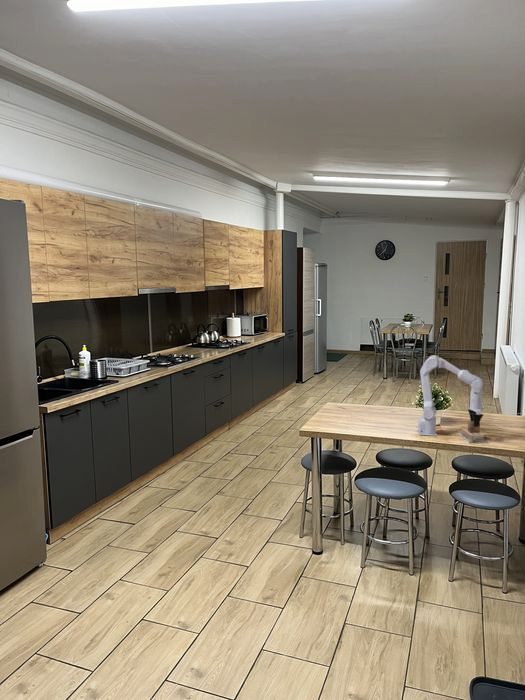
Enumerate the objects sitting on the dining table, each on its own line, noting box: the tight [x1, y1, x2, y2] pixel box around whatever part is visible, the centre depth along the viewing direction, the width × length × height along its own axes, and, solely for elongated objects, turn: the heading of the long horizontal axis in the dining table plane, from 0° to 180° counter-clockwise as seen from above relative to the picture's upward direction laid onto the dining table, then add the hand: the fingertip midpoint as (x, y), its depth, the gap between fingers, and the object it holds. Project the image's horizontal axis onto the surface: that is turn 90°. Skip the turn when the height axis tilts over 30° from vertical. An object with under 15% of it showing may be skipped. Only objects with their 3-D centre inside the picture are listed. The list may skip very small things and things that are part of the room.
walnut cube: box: [467, 420, 481, 433], centre depth 296 cm, size 5×5×5 cm
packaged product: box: [457, 427, 488, 444], centre depth 297 cm, size 18×5×10 cm
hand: (474, 424), depth 296 cm, fingers open, 7 cm apart
